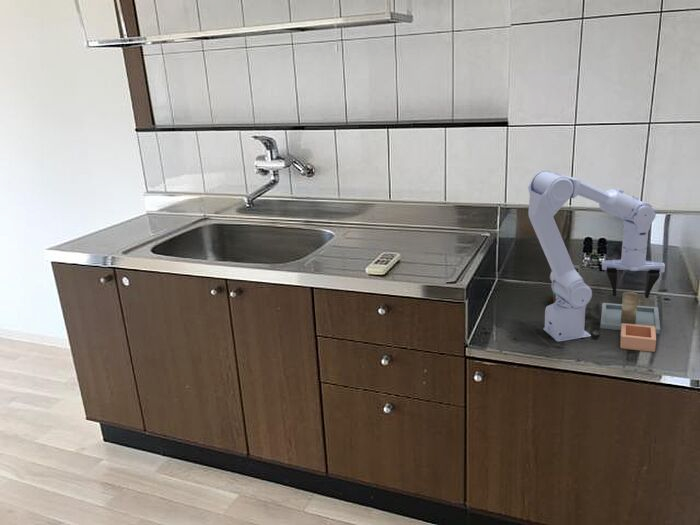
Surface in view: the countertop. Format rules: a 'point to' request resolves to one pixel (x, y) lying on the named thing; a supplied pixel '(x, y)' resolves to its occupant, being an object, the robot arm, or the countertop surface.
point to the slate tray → (643, 316)
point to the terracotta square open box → (638, 337)
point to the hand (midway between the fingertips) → (630, 295)
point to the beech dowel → (629, 307)
